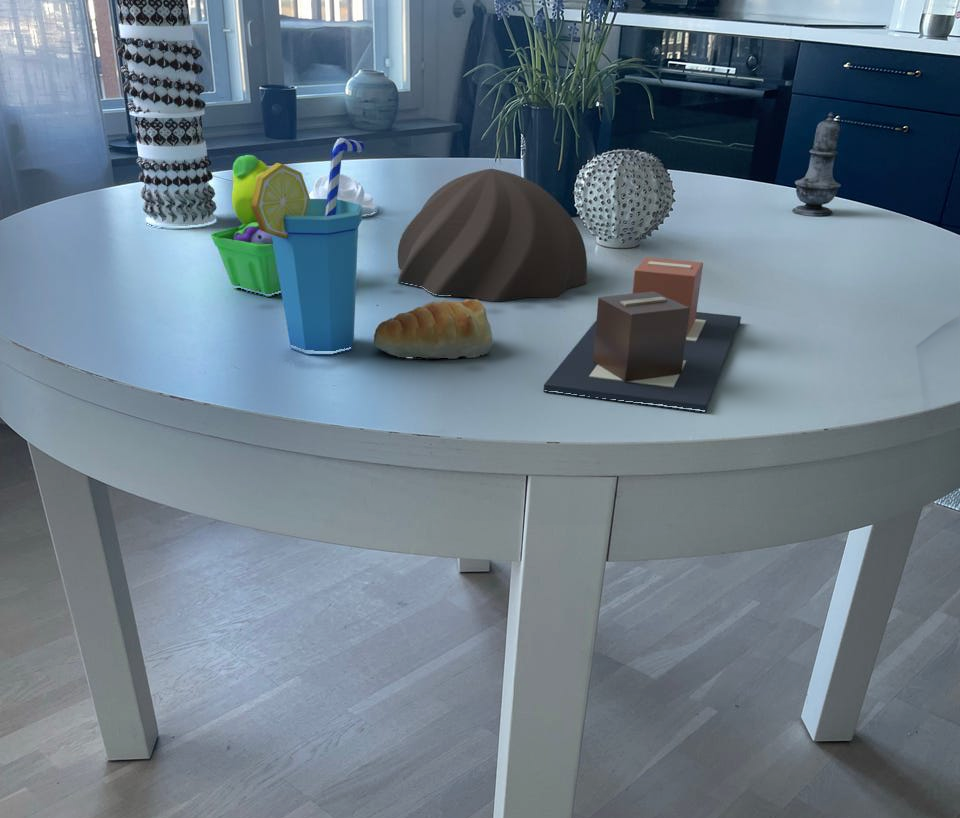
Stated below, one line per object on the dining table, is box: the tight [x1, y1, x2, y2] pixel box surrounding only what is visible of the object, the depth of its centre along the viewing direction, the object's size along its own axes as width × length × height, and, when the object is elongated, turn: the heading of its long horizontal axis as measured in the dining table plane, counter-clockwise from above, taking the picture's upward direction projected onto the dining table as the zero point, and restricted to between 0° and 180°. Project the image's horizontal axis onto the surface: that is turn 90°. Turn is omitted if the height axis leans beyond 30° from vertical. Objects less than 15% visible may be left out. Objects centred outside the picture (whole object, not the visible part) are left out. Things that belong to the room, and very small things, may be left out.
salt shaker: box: [791, 111, 841, 217], centre depth 133 cm, size 6×6×12 cm
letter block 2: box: [593, 291, 690, 381], centre depth 77 cm, size 5×5×5 cm
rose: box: [308, 173, 379, 218], centre depth 129 cm, size 10×4×10 cm
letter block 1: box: [631, 256, 704, 337], centre depth 87 cm, size 5×5×5 cm
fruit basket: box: [210, 154, 282, 298], centre depth 97 cm, size 11×9×11 cm
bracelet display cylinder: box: [114, 0, 218, 230], centre depth 116 cm, size 9×9×25 cm
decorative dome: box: [397, 168, 588, 303], centre depth 101 cm, size 19×20×10 cm
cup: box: [251, 137, 365, 356], centre depth 80 cm, size 14×8×15 cm, turn 158°
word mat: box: [543, 311, 742, 414], centre depth 83 cm, size 24×12×1 cm, turn 162°
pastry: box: [373, 298, 494, 360], centre depth 82 cm, size 9×7×4 cm
